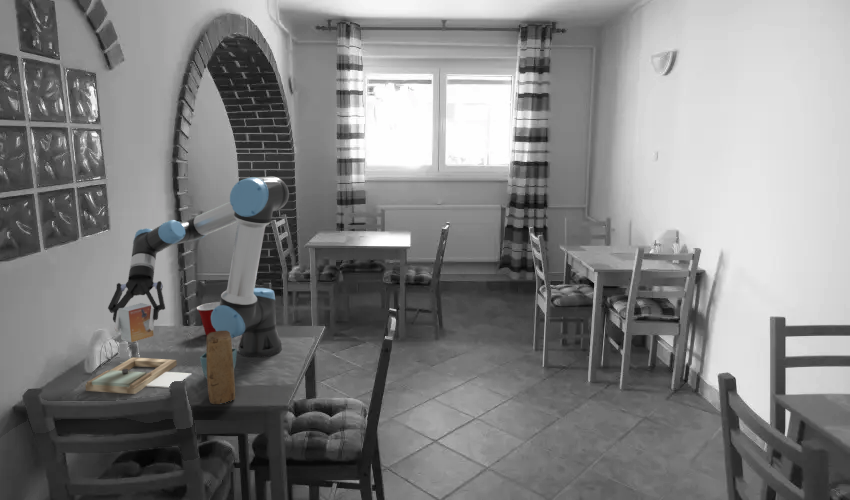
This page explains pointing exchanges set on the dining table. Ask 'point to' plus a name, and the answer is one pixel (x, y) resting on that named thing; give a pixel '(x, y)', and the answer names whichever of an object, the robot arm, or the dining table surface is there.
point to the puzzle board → (129, 376)
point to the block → (220, 367)
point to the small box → (135, 322)
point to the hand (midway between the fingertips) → (134, 329)
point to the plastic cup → (207, 316)
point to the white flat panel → (168, 379)
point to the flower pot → (204, 361)
